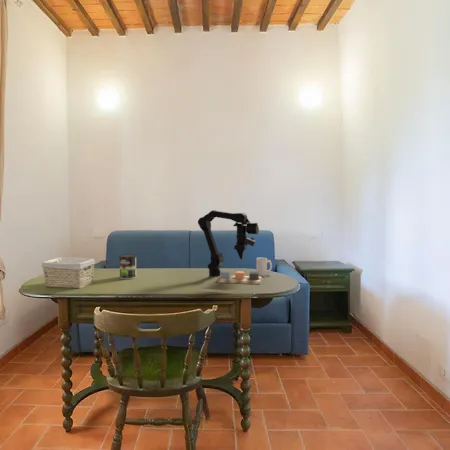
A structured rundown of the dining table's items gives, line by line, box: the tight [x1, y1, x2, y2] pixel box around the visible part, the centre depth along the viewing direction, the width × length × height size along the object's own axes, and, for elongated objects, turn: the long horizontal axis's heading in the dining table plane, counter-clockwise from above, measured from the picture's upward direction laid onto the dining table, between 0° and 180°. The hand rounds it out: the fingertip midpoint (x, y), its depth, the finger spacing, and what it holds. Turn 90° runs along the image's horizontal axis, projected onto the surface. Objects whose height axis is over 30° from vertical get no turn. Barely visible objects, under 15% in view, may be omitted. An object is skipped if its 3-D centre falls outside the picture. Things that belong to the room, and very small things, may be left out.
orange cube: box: [234, 270, 245, 279], centre depth 192 cm, size 5×5×5 cm
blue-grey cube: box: [221, 270, 231, 279], centre depth 193 cm, size 5×5×5 cm
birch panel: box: [216, 274, 263, 285], centre depth 192 cm, size 25×12×3 cm, turn 80°
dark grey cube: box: [249, 271, 259, 280], centre depth 190 cm, size 5×5×5 cm
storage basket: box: [41, 257, 96, 289], centre depth 187 cm, size 24×16×15 cm
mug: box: [255, 256, 273, 277], centre depth 207 cm, size 10×7×12 cm, turn 91°
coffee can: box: [118, 253, 137, 280], centre depth 205 cm, size 10×10×14 cm
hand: (241, 259), depth 198 cm, fingers closed
